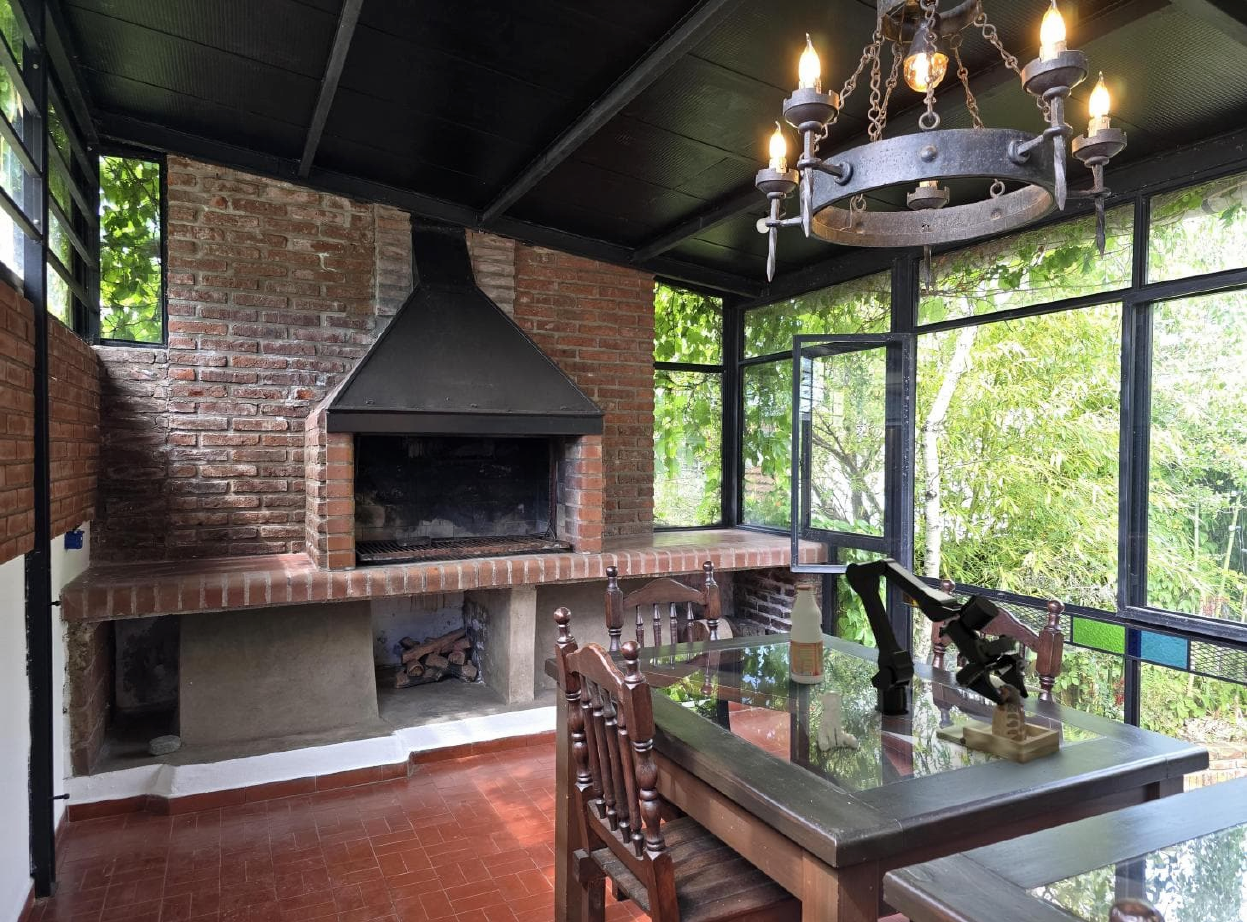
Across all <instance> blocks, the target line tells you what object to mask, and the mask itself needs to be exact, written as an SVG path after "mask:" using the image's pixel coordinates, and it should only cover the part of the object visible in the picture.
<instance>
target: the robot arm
mask: <svg viewBox="0 0 1247 922" xmlns="http://www.w3.org/2000/svg"><path fill="white" fill-rule="evenodd" d="M844 575H845V578H846V580H847V583H848V584H849V587H850V588H851V590H852V591H853V592H855V593H856V594H857V596H858V597H859V598H860V601H861V602H862V605H863V609H864V612H865V614H866V615H865V616H866V617H867V620H868V623H869V625H870V628H871V631H872V634H873V637H874V640H875V643H876V645H877V649H878V656H877V661H876V663H877V668H878V671H877V672H876V673H875V675H873V676H872V677H871V678H870V682H871V685H872V688H875V689H876V700H877V702H876V703H877V704H876V705H874V709H876V710H878V711H879V712H881V713H883V714H885V715H897V714H898V715H899V714H910V710H908V692H906V687H909V686H910V683H911V680H912V679H913V677H914V674H915V668H914V667H915V666H916V664H915V663H914V660H913V659H912V655H911V653H910V651H909V650H908V649H907V650H904V649H902V648H901V647H900V646H899V644H898V641H897V638H896V637H895V634H894V630H893V628H892V625H891V622H890V620H889V617H888V616H889V615H888V613H887V611H886V608H885V605H884V602H883V600H882V597H881V594H880V587H881V577H884V578H885V579H887V580H888V581H889V582H890V583H892V584H893V585H894V586H895V587H897V588H898V589H900V591H902V592H904V593H905V594H906V595H908V596H909V597H910V598H911V599H912V600H913V601H914V602H916V603H917V604H918V607H919V610H920V611H921V613H923V614H924V616H926V618H927V619H928V620H929V621H930V622H933V623H935V624H936V623H942V622H947V621H948V623H947V624H945V625H940V626H939V627H938V628H939V630H938V637H937V638H939V639H942V638H947V637H948V638H949V640H950V641H951V642H952V643H953V645H954V646H955V647H956V649H958V651H959V653H958V654H957V656H958V657H959V658H960V659H963V658H964V659H965V660H966V661H967V662H968V663H966V664H965V665H964V666H963V667H962V669H961V670H960V671H959V672H957V673H956V674H955V673H954V675H955V676H956V681H957V683H958V685H959V687H960V688H962V687H965V688H966V689H967V690H971V691H972V692H975V693H977V694H978V695H981V696H982V697H984V698H986V699H988V700H989V701H991V702H992V703H994V704H996V705H997V704H998V705H999V706H1003V705H1005V702H1004V701H1003V699H1002V697H1001V696H1000V693H999V691H998V690H997V688H995V687H994V686H993V684H992V683H991V681H990V675H991V674H990V673H992V672H994V673H995V674H996V675H998V676H999V679H1001V680H1002V681H1003V682H1004V683H1005V684H1010V685H1013V686H1014V687H1015V688H1016V689H1017V690H1019V691H1020V697H1022V698H1024V699H1028V698H1029V693H1028V691H1027V690H1026V688H1025V685H1024V684H1025V683H1024V681H1023V678H1022V675H1021V668H1022V666H1023V661H1024V658H1023V657H1022V655H1021V654H1020V653H1019V652H1017V651H1015V650H1016V649H1017V648H1016V643H1017V639H1015V638H1014V636H1013V635H1011V633H1009V632H1004V633H1002V634H999V635H998V638H997V639H994V640H990V639H988V637H987V638H986V637H982V638H981V636H980V635H979V634H978V632H981V631H984V630H985V629H986V628H987V627H988V626H989V625H990V624H991V623H992V622H993V621H994V620H995V619H997V618H998V617H999V615H1000V610H999V608H998V605H996V604H995V602H992V601H991V600H990V599H988V598H986V597H983V596H982V595H981V594H980V593H973V594H972V595H971V596H970V597H969V599H968V600H967V601H966V602H965V603H963V602H960V601H958V600H957V599H956V598H955V597H953V596H951V595H949V594H948V593H946V592H943V591H941V590H936V589H934V588H932V587H930V586H928V585H927V584H925V583H924V582H923V581H922V580H920V579H919V578H918V577H916V576H915V575H913V573H911V572H909V571H908V570H907V569H906V568H905V567H903V566H902V565H901V564H899V563H898V562H897V561H896V560H895V559H894V558H889V557H888V558H880V559H878V560H876V561H870V560H866V561H857V562H852V563H851V562H850V563H849V564H848V565H847V566H846V569H845V570H844ZM957 617H958V618H957ZM977 631H978V632H977ZM957 683H956V684H957Z"/></svg>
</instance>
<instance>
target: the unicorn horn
mask: <svg viewBox="0 0 1247 922" xmlns="http://www.w3.org/2000/svg"><path fill="white" fill-rule="evenodd" d="M962 668H963V667H962V666H956V667H955V670H954V678H953V679H954V680H953V681H954V683H955V684H958V683H957V681H956V676H955V674H956V673H957V672H959V671H960V670H961V669H962ZM999 677H1000V676H999ZM999 677H998V676H996V675H993V674H990V681H991V683H992V684H993V686H994V687H995V688H996V689H999V686H1003V685H1004V684H1005V683H1004V682H1003V681H1002V680H1001V679H999ZM958 685H959V684H958ZM1024 685H1025V688H1026V690H1027V692H1029V693H1030V692H1033V693H1042V694H1045V693H1049V691H1047V690H1045V689H1042V688H1039V687H1036V686H1032V685H1029V684H1025V683H1024Z"/></svg>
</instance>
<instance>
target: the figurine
mask: <svg viewBox="0 0 1247 922" xmlns="http://www.w3.org/2000/svg"><path fill="white" fill-rule="evenodd" d="M998 689H999V691H1000V693H999V694H1000V696H1001V697H1002V699H1003V701H1004V702H1005V705H1003V706H999V705H998V704H996V705H995V707H994V710H993V714H992V720H991V725H992V734H994V735H998V736H1001V737H1005V738H1008V739H1011V740H1015V741H1018V742H1022V741H1025V740H1027V729H1026V726H1025V722H1026V721H1025V715H1024V712H1023V710H1022V708H1025V705H1024V703H1022V702H1021V696H1020V691H1019V690H1017V689H1016V688H1015V687H1014V686H1013V685H1010V684H1004V685H1003V686H999V688H998Z"/></svg>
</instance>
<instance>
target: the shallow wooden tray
mask: <svg viewBox="0 0 1247 922" xmlns="http://www.w3.org/2000/svg"><path fill="white" fill-rule="evenodd" d="M1025 726H1026V729H1027V740H1025V741H1022V742H1018V741H1015V740H1011V739H1008V738H1005V737H1001V736H998V735H994V734H992V723H991V724H990V723H987V722H984V721H980V720H977V719H969V720H966V721H963V722H959V723H956V724H954V725H951V726H947V727H945V728H941V729H938V730H936V731H935V736H936V737H938V738H941V739H944V740H947V741H950V742H953V743H957V744H959V745H962V746H966V747H968V748H972V749H975V750H978V751H982V752H985V753H988V754H990V755H994V756H997V757H1000V758H1003V759H1007V760H1009V761H1013V762H1016V763H1018V764H1022V765H1025V764H1026V763H1029V762H1032V761H1034V760H1037V759H1039V758H1042V757H1044V756H1047V755H1049V754H1052V753H1054V752H1057V751H1059V750H1060V731H1059V730H1055V729H1051V728H1048V727H1044V726H1040V725H1037V724H1033V723H1029V722H1026V721H1025Z"/></svg>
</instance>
